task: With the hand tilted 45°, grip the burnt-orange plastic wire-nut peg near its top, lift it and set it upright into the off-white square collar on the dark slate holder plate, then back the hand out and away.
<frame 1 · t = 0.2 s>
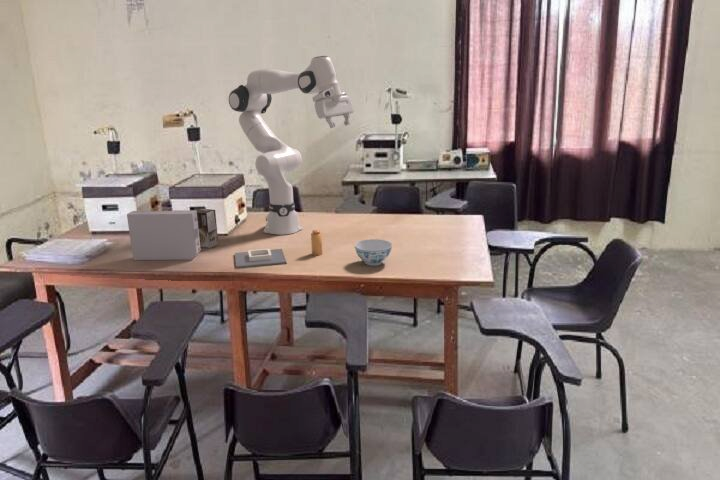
hand: (340, 126, 248), 52 cm above the table, tool tilted 20°, fingers open, 8 cm apart
coffee box: (206, 245, 265), on the table
game console: (167, 258, 249), on the table
holder: (260, 259, 245), on the table
wire nut: (317, 253, 250), on the table
chinaware: (373, 263, 237), on the table
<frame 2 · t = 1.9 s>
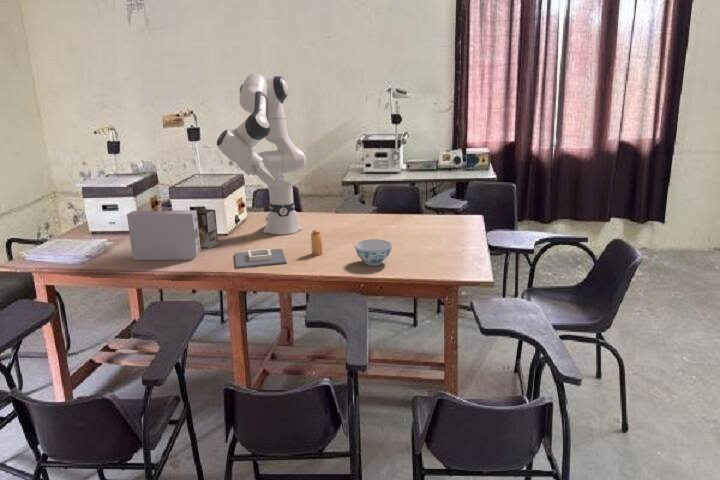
hand: (278, 186, 238), 30 cm above the table, tool tilted 45°, fingers open, 8 cm apart
nothing on the table moved.
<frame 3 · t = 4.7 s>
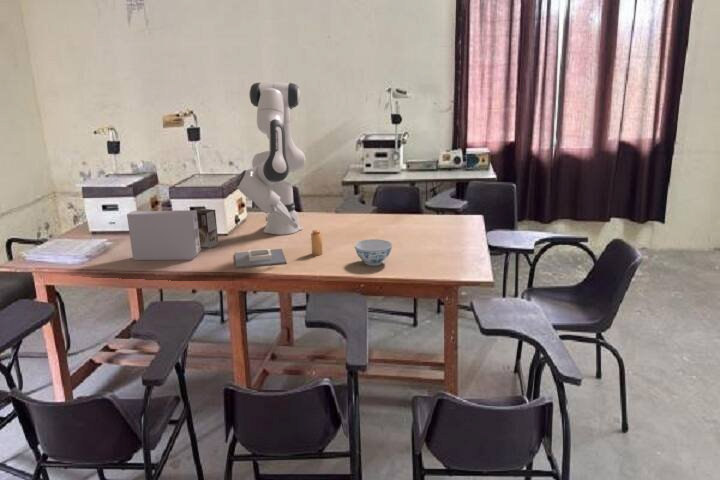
hand: (295, 224, 244), 14 cm above the table, tool tilted 45°, fingers open, 8 cm apart
nothing on the table moved.
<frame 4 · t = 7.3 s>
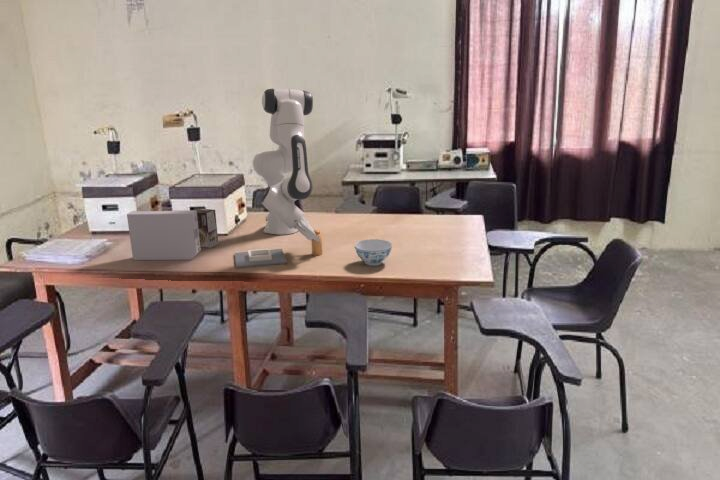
hand: (318, 238, 248), 7 cm above the table, tool tilted 45°, fingers closed on wire nut, 4 cm apart
wire nut: (317, 253, 250), on the table, touching gripper
everything else where it was.
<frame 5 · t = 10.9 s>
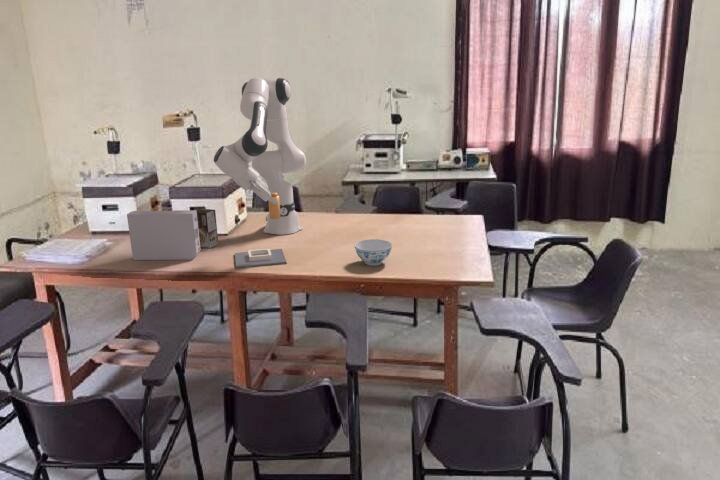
hand: (275, 201, 239), 24 cm above the table, tool tilted 45°, fingers closed on wire nut, 4 cm apart
wire nut: (275, 217, 241), point 17 cm above the table, touching gripper
everything else where it was.
when the fingers open (9 cm above the table, at t = 14.6 s): wire nut drops 1 cm, resting on holder.
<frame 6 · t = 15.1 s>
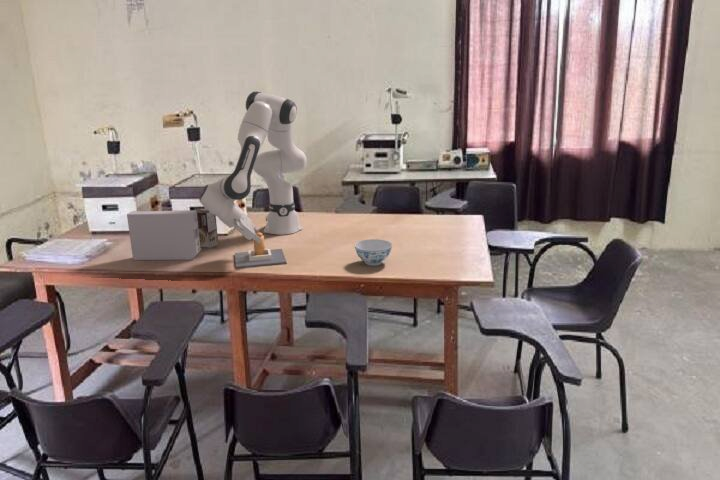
hand: (260, 238, 242), 9 cm above the table, tool tilted 45°, fingers open, 8 cm apart
wire nut: (260, 257, 245), point 1 cm above the table, touching holder
everything else where it was.
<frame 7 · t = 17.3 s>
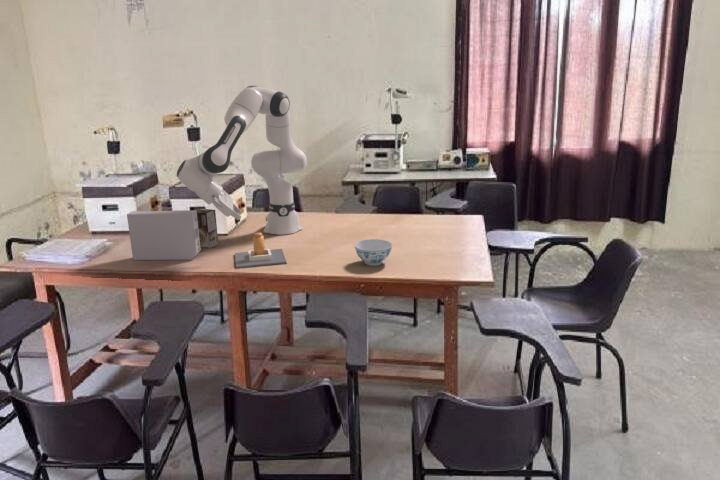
hand: (239, 215, 239), 19 cm above the table, tool tilted 45°, fingers open, 8 cm apart
nothing on the table moved.
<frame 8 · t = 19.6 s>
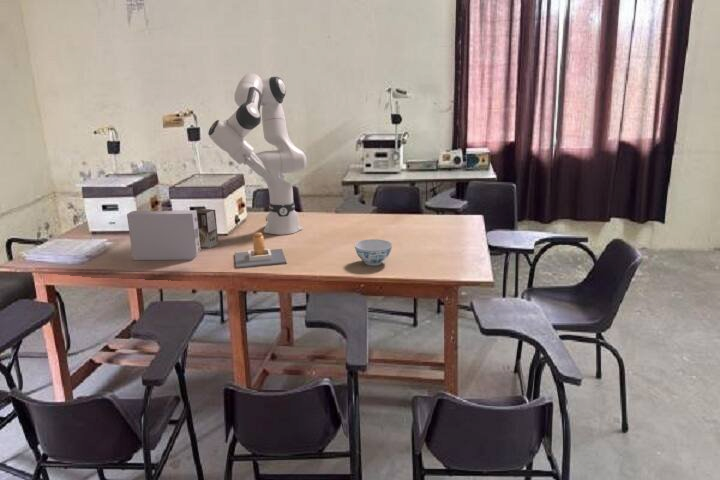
hand: (269, 176, 242), 33 cm above the table, tool tilted 45°, fingers open, 8 cm apart
nothing on the table moved.
at the end: wire nut 0.0 cm off-centre on the holder, point 0.8 cm above the holder's base; wire nut tilted 1°; the gripper is holding nothing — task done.
